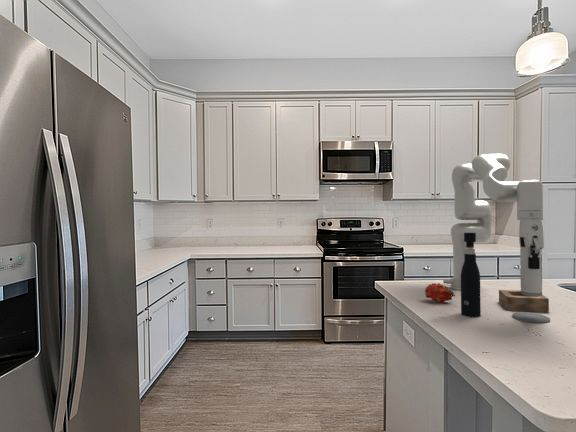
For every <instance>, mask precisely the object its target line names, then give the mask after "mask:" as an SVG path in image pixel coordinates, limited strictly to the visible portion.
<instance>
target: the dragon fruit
mask: <svg viewBox="0 0 576 432" xmlns="http://www.w3.org/2000/svg"><path fill="white" fill-rule="evenodd" d="M424 292H425V298H426V299H427V298H428V299H431V300H432V302H433V303H436V302H438V303H441V304H448V301H452V298H453V297H456V295H455V293H454V292H453V291H452V290H451V289H449V288H448V287H447V286H445V285H444V283H443V284H441V283H436V282H435V283H433V282H432V283H431V284H428V285H427V286H426V287H425V289H424Z"/></svg>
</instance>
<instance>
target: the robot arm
mask: <svg viewBox="0 0 576 432" xmlns="http://www.w3.org/2000/svg"><path fill="white" fill-rule="evenodd" d="M510 168H511V160H510V158H509V157H508V156H507V155H506V154H503V153H488V154H487V153H484V154H479V155H478V154H477V156H475V157H473V159H472V161H471V163H462V164H458V165H456V166H455V167H454V168H453V169H452V171H451V181H452V185H453V190H454V216H455V218H456V219H457V220H460V221H476V222H461V223H460V222H459V223H455V224H453V225H452V226H451V228H450V237H451V242H452V255H453V260H452V261H453V265H452V266H453V268H452V269H453V277H451V278H450V279H442V283H443V284H447V285H449V286H450V288H451V289H452V290H456V291H461V271H462V267H463V264H464V254H466V253H465V249H474V248H466V242H464V233H476V242H474V244H475V243H476V244H477V243H486V242H488V241H490V238H491V235H492V207H491V204H490V203H489V202H488V201H486V200H483V199H475V190H474V187H473V186H472V185H471V183H482V188H483V191H484V194H485V195H486V196H487V197H488V198H489V199H491V200H492V201H494V202H496V203H516V220H517V221H519V224H518V225H519V228H518V229H519V231H518V236H519V237H518V240H519V244H520V237H524V243H525V247H526V248H527V249H528V251H529V257H528V268H529V269H540V254H539V253H540V249H542V250H543V249H544V248H545V245H544V244H545V242H544V241H545V240H544V239H545V238H544V229H543V228H544V227H543V222H542V221H543V220H544V205H543V204H544V199H543V197H544V196H543V194H544V193H543V182H542V181H541V180H539V179H531V180H529V179H527V180H521V181H520V180H519V181H505V180H506V179H507V177H508V171H509V169H510ZM530 246H534V248H530ZM540 247H541V248H540ZM531 250H533V251H531Z"/></svg>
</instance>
